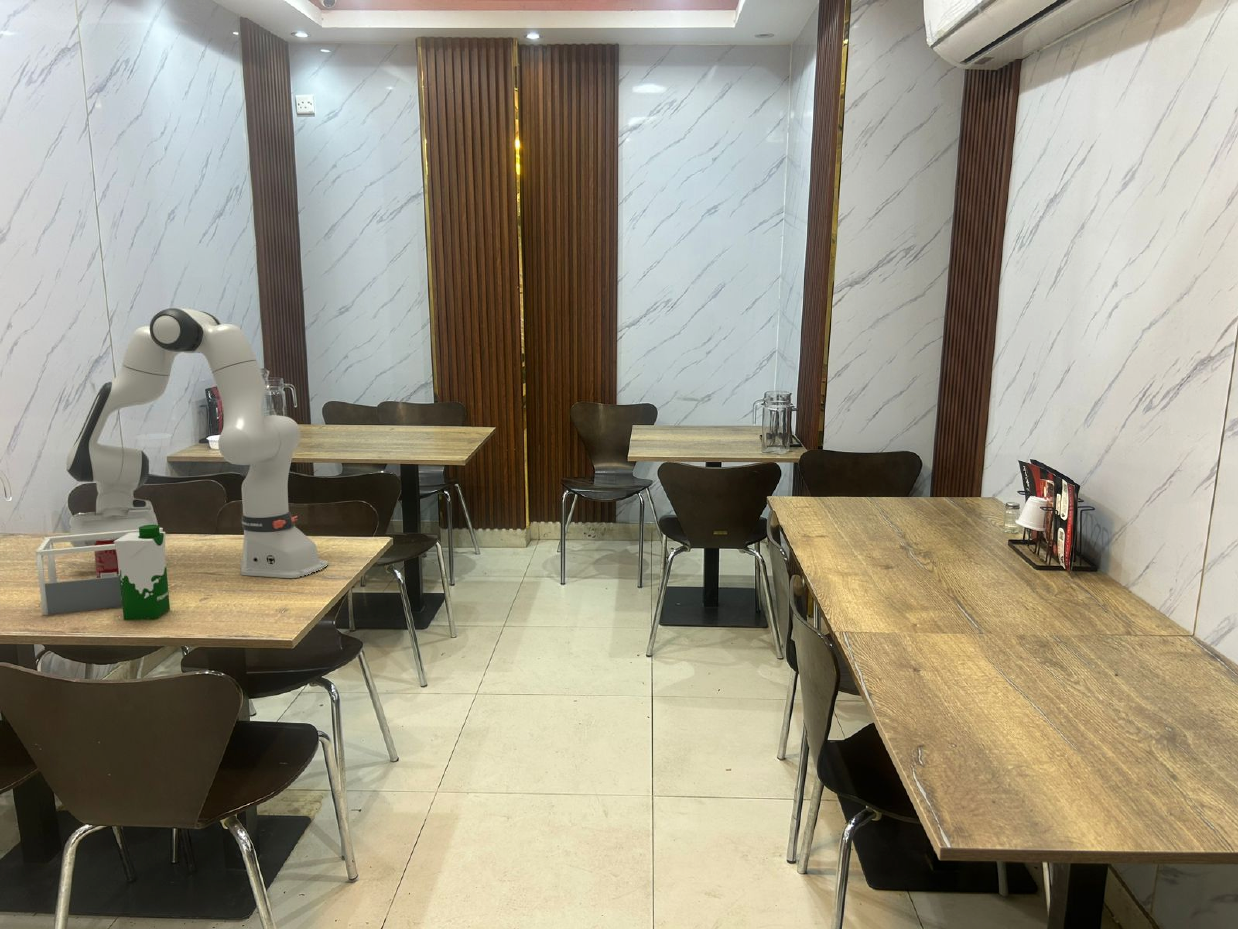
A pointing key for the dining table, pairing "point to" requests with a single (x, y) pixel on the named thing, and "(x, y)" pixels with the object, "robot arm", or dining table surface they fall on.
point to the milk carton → (143, 573)
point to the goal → (77, 591)
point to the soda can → (106, 559)
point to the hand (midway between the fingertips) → (115, 556)
